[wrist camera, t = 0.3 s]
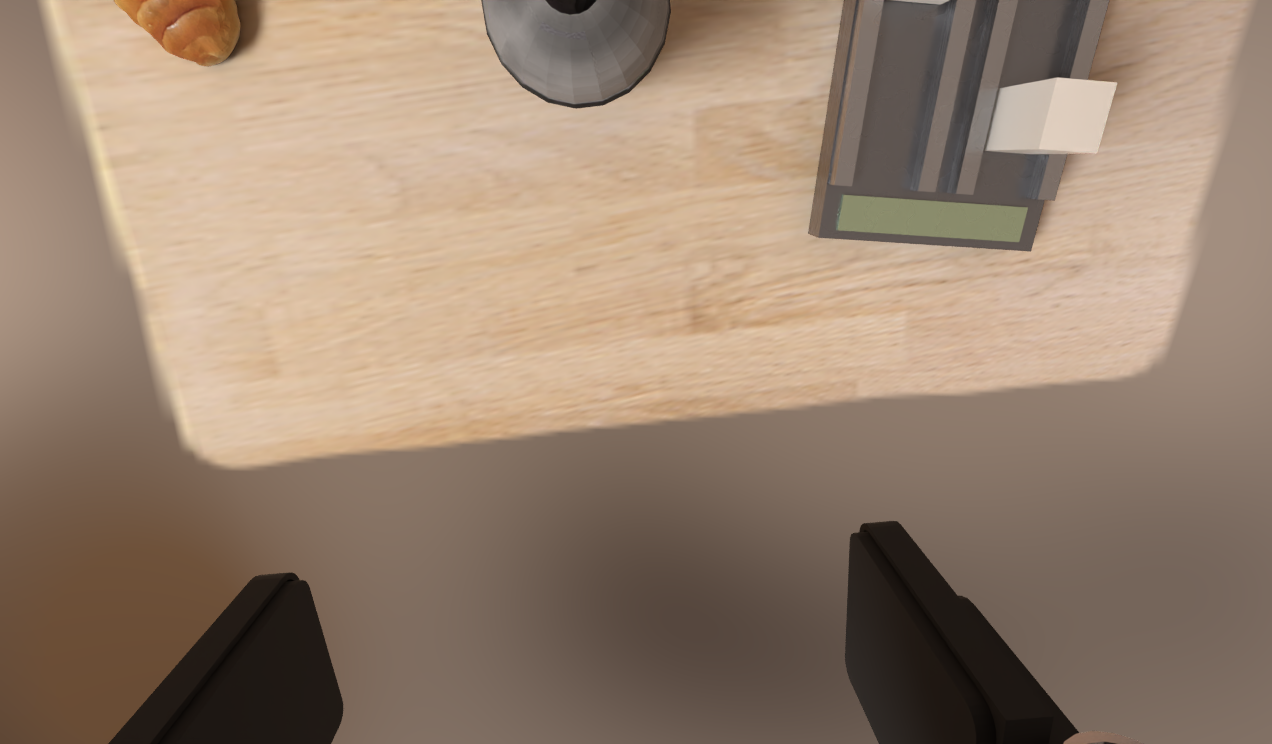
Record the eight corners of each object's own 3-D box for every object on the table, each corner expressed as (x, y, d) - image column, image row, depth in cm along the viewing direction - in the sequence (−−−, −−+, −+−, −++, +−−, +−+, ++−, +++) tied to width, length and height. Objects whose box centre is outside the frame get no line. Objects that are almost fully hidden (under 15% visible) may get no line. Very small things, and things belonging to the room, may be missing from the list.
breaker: (995, 89, 34) (1057, 77, 29) (1047, 93, 34) (1117, 82, 30) (981, 150, 35) (1038, 149, 30) (1032, 154, 35) (1097, 153, 31)
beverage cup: (521, -25, 33) (402, -266, 15) (656, -17, 34) (711, -242, 15) (523, 121, 36) (423, 76, 17) (649, 127, 36) (690, 90, 17)
